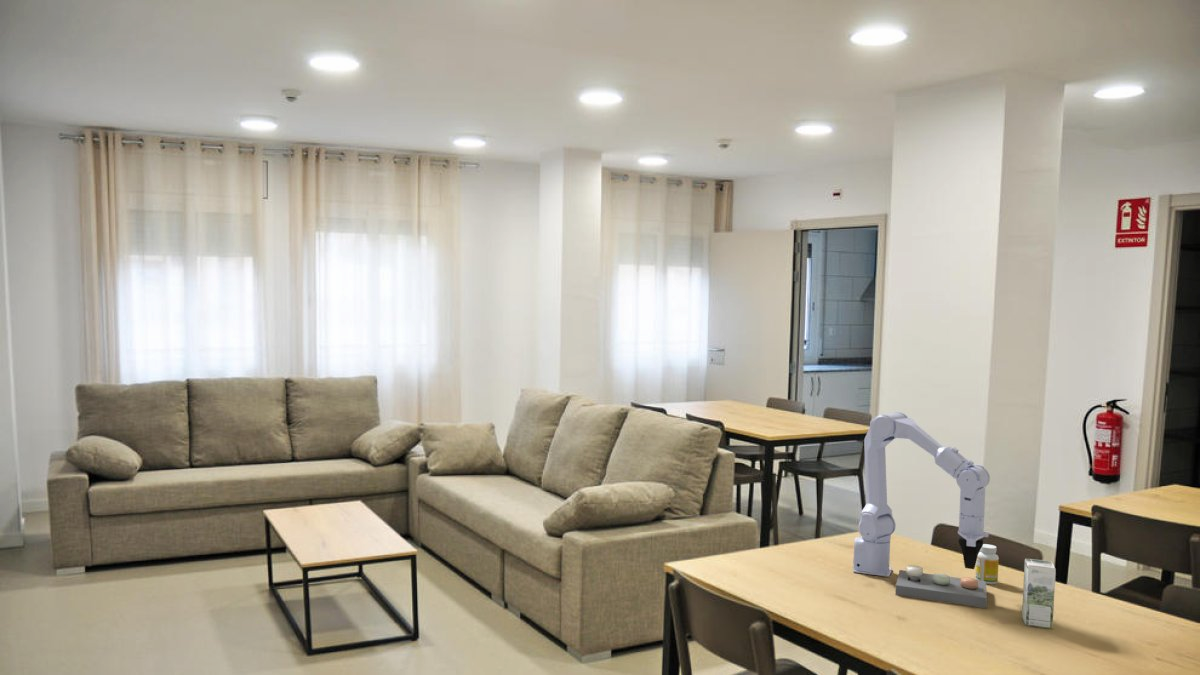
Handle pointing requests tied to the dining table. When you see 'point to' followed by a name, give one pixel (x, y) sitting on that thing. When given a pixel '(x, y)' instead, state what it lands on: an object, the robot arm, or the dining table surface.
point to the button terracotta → (969, 583)
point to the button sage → (941, 579)
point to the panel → (941, 590)
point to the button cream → (914, 572)
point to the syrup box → (1038, 593)
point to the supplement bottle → (987, 564)
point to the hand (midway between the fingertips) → (969, 568)
